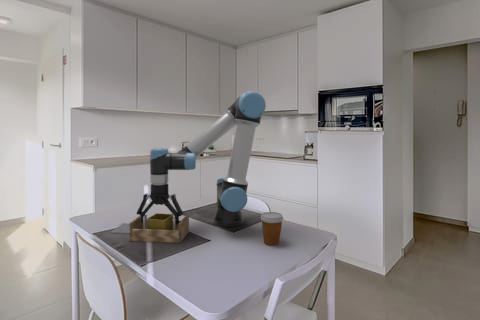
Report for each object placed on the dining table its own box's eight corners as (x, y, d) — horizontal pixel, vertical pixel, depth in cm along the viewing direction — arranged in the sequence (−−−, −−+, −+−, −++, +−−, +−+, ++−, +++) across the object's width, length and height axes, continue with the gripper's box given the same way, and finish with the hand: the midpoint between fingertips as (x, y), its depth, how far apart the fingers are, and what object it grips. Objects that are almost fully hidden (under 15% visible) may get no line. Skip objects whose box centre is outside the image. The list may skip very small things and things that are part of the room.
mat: (148, 224, 146) (148, 223, 146) (137, 234, 133) (137, 233, 133) (123, 224, 147) (123, 223, 147) (109, 233, 134) (109, 232, 134)
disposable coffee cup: (277, 248, 117) (277, 219, 115) (256, 243, 122) (256, 215, 120) (286, 241, 125) (287, 213, 123) (266, 236, 130) (266, 210, 128)
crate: (189, 231, 137) (188, 214, 136) (180, 242, 123) (180, 224, 122) (143, 229, 138) (142, 213, 138) (130, 241, 124) (129, 222, 124)
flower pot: (165, 240, 125) (165, 220, 125) (147, 238, 127) (146, 218, 126) (174, 233, 134) (173, 214, 133) (156, 231, 136) (156, 213, 135)
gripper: (189, 182, 131) (189, 228, 133) (135, 181, 133) (136, 226, 135) (185, 185, 124) (185, 234, 126) (128, 184, 125) (129, 232, 127)
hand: (160, 230), depth 130 cm, fingers open, 13 cm apart
